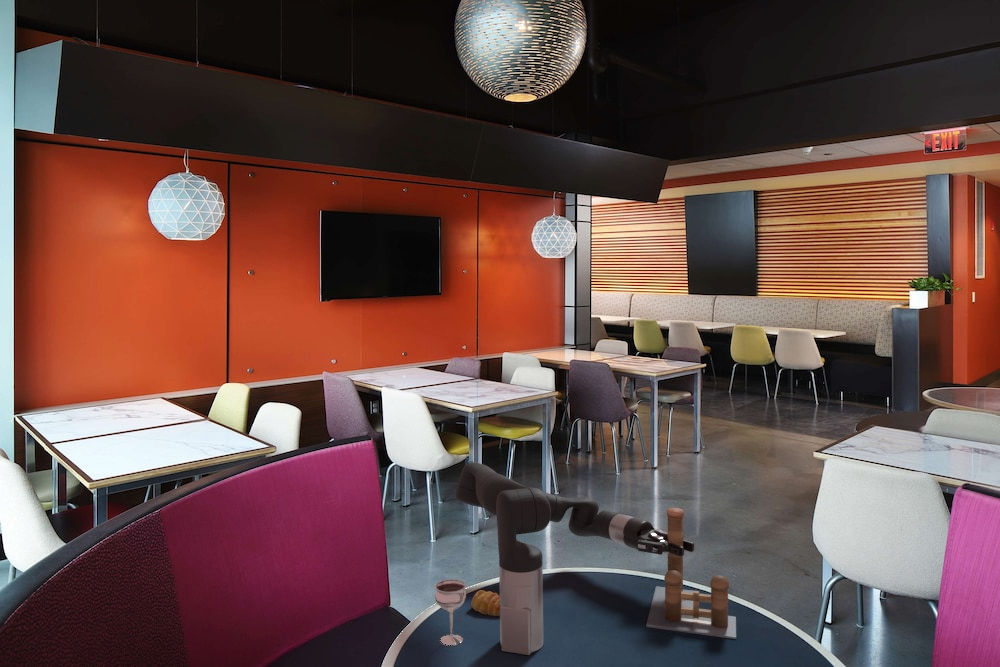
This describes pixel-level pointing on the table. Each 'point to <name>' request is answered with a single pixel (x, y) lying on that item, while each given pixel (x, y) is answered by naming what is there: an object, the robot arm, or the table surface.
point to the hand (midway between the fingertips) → (688, 549)
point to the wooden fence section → (675, 538)
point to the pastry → (486, 603)
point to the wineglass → (450, 604)
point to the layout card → (686, 619)
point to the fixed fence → (696, 600)
